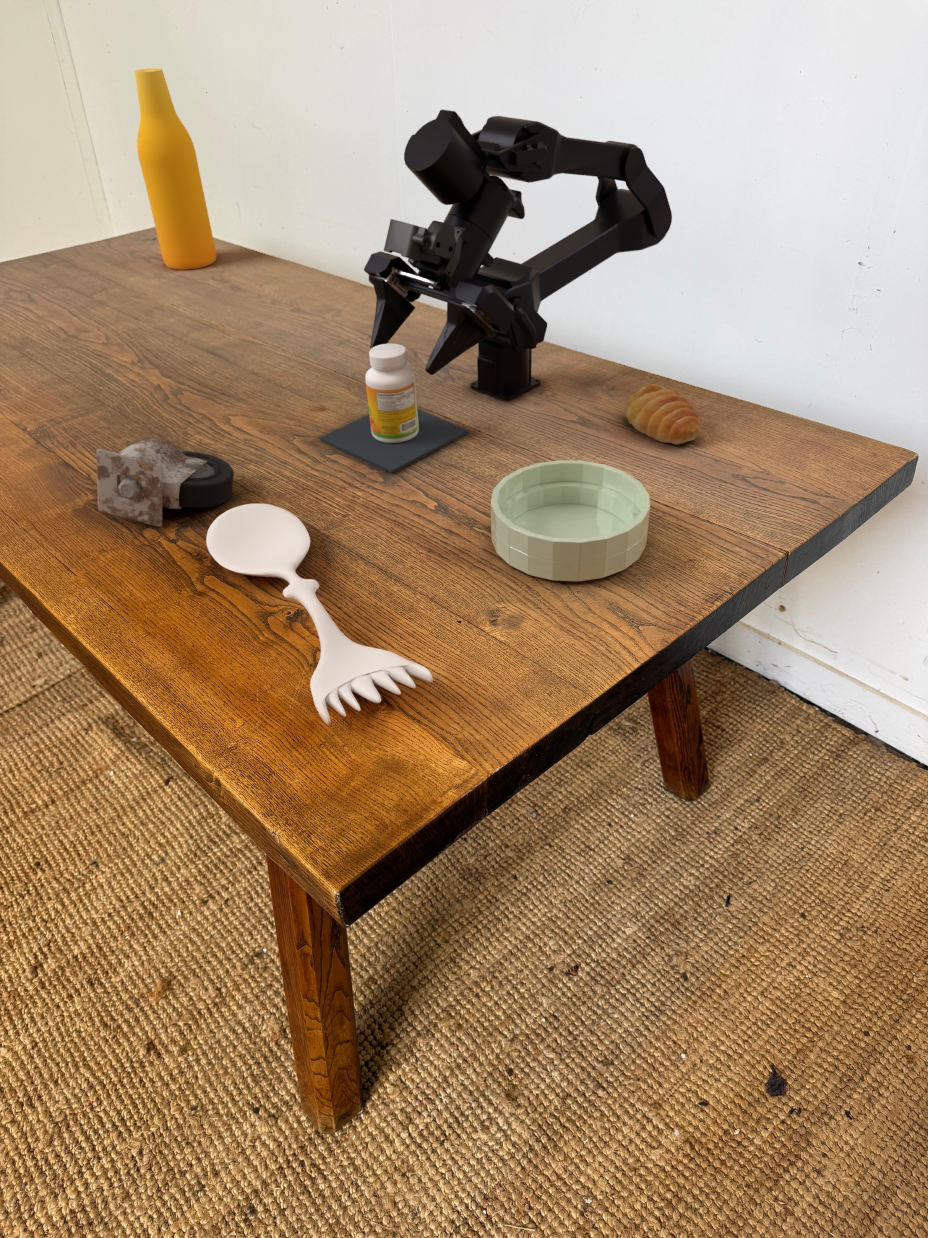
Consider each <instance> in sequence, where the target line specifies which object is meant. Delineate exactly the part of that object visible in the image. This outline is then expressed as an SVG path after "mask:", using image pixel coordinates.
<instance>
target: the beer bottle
mask: <svg viewBox="0 0 928 1238" xmlns="http://www.w3.org/2000/svg"><path fill="white" fill-rule="evenodd" d="M134 76H135V84H136V92H137V98H138V99H137V100H138V105H139V124H138V131H137V139H136V149H137V157H138V161H139V164H140V165H139V166H140V169H141V173H142V178H143V182H144V185H145V189H146V193H147V198H148V202H149V206H150V211H151V214H152V218H153V223H154V227H155V230H156V236H157V239H158V243H159V248H160V254H161V258H162V260H163V263H164V264H165V265H166V267H167V268H169V269H172V270H178V271H188V270H197V269H201V268H205V267H209V266H211V265H212V264H214V263H215V262H216V260H217V249H216V243H215V239H214V236H213V231H212V226H211V222H210V217H209V211H208V207H207V202H206V197H205V192H204V186H203V182H202V177H201V173H200V167H199V163H198V158H197V152H196V148H195V145H194V142H193V139H192V138H191V136H190V133H189V131H188V129H186V126H185V125H184V123H183V122H182V121H181V119H180V117H179V116H178V113H177V112H176V109H175V106H174V103H173V100H172V97H171V94H170V90H169V87H168V84H167V80H166V77H165V74H164V72H163V68H157V67H156V68H155V67H153V68H141V69H136V70H134Z"/></svg>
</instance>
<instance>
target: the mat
mask: <svg viewBox="0 0 928 1238" xmlns="http://www.w3.org/2000/svg"><path fill="white" fill-rule="evenodd" d="M417 412H418V425H419V431H418V433H417V435H416V436H415V437H414V438H412V439H410V440H408V441H404V442H400V443H384V442H381V441H378V440H377V439H375V438H374V437H373V435H372V432H371V425H370V416H369V414H367V415H365V416H363V417H361V418H359V419H357V420H355V421H352V422H350V423H348V424H346V425H344V426H342V427H340V428H337V429H335V430H333V431H331V432H328V433H326V434H324V435H322V436H320V437H319V441H321V442H323V443H325V444H327V445H329V446H331V447H333V448H336V449H338V450H340V451H342V452H344V453H346V454H348V455H351V456H353V457H354V458H357V459H360V460H362V461H363V462H366V463H368V464H370V465H373V466H375V467H376V468H379V469H381V470H383V471H386V472H387V473H390V474H394V473H396V472H398V471H400V470H402V469H403V468H406V467H408V466H410V465H412V464H413V463H416V462H417V461H420V460H421V459H423V458H425V457H426V456H429V455H431V454H432V453H435V452H436V451H439V450H440V449H442V448H444V447H445V446H448V445H450V444H452V443H454V442H455V441H457V440H459V439H461V438H463V437H465V436H467V435H469V434H470V430H469V429H467V428H464V427H462V426H460V425H457V424H454V423H452V422H450V421H447V420H444V419H441V418H439V417H436V416H434V415H431V414H429V413H427V412H424V411H421V410H419V409H417Z"/></svg>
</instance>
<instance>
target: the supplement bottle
mask: <svg viewBox="0 0 928 1238" xmlns="http://www.w3.org/2000/svg"><path fill="white" fill-rule="evenodd" d="M407 353H408V352H407V348H406V347H405V346H404V345H402V344H399V343H387V344H381V345H378V346H375V347H373V348H372V349H371V348H370V349H369V351H368V356H369V366H370V368H369V369H368V370H367V371H366V372H365V377H364V378H365V388H366V398H367V407H368V408H367V409H368V415H369V416H370V425H371V432H372V435H373V437H374V438H375V439H377V440H378V441H381V442H384V443H400V442H404V441H408V440H410V439H412V438H414V437H415V436H416V435H417V433H418V431H419V425H418V412H417V410H418V402H417V389H416V387H417V386H416V377H415V376H416V375H415V372H414V370H413V368H412V367H411V366H410V365H408V364H407V363H408V354H407Z"/></svg>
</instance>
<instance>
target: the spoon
mask: <svg viewBox="0 0 928 1238" xmlns="http://www.w3.org/2000/svg"><path fill="white" fill-rule="evenodd" d="M205 539H206V540H205V541H206V542H205V543H206V547H207V550H208V553H209V554H210V556H211V557H212V558H213V560H214V561H215V562H217V563H218V564H219V565H220V566H221V567H223V568H224V569H226V570H229V571H231V572H234V573H236V574H240V575H244V576H245V575H246V576H252V577H265V578H277V579H281V580H283V581H286V582H287V583H288V585H287V586H286V587H285V588H284V589H283V591H282V595H283V597H284V598H285V599H287V600H294V601H297V602H298V603H300V604H301V605H302V606H303V607H304V608H305V609H306V611H307V612H308V614H309V616H310V618H311V619H312V621H313V623H314V626H315V629H316V632H317V635H318V639H319V642H320V643H319V644H320V655H319V661H318V663H317V666H316V668H315V669H314V671H313V673H312V675H311V677H310V682H309V687H310V692H311V696H312V699H313V704H314V706H315V709H316V711H317V713H318V714H319V716H320V718H321V719H322V721H323V722H324V723H325V724H326V725H328V726H330V725H331V722H332V721H331V716H330V713H329V711H328V708H329V706H330V707H331V708H333V709H334V711H336V712H337V713H338V714H340V715H341V716H342V717H344V718H346V716H347V712H346V710H345V708H344V706H343V704H342V703H341V700H343V701H344V702H345V703H346V704H347V705H349V706H350V707H351V708H352V709H354V710H355V711H357V712H361V710H362V708H361V706H360V703H359V702H358V701H357V699H356V697H355V695H354V694H353V693H355V694H357V695H358V696H359V697H362V698H364V699H366V700H367V701H369V702H370V703H371V702H372V703H374V704H380V703H381V702H382V696H381V695H380V692H379V691H378V690H377V688H376V686H378V687H380V688H382V689H385V690H387V691H388V692H390V693H393V694H395V695H396V696H397V695H398V696H401V694H402V692H401V690H400V688H399V687H398V685H397V684H396V683H395V682H397V683H399V684H402V685H405V686H407V687H409V688H411V689H416V683H415V682H414V680H413V678H412V677H416V678H418V679H421V680H423V681H425V682H428V683H433V682H434V677H433V675H432V673H431V671H430V670H429V668H427V667H426V666H424V665H421V664H419V663H416V662H414V661H411V660H408V659H406V658H405V657H403V656H401V655H399V654H396V653H395V652H393V651H390V650H387V649H380V648H377V647H371V646H367V645H363V644H360V643H357V642H355V641H353V640H352V639H350V638H349V637H347V636H346V634H344V633H343V631H341V630H340V628H339V626H338V625H337V624H336V623H335V621H334V620H333V619H332V618H331V616H330V614H329V613H328V611H327V610H326V609H325V607H324V606H323V604H322V603H321V601H320V600H319V598H318V597H317V594H316V592H317V591H318V589H320V584H319V582H318V581H317V580H316V579H311V578H308V579H307V578H302V577H301V576H299V575H298V574H297V572H296V570H297V569H298V567H299V566H300V565H301V563H302V562H303V560H304V559H305V557H306V555H307V554H308V552H309V549H310V546H311V537H310V534H309V532H308V530H307V528H306V527H305V525H304V523H303V522H302V521H301V520H300V519H299V518H298V517H297V516H296V515H295V514H293V513H292V512H290V511H288V510H287V509H284V508H282V507H279V506H276V505H274V504H269V503H247V504H241V505H238V506H235V507H232V508H230V509H228V510H226V511H224V512H223V513H221V514H220V515H218V516H217V517H216V518H215V519H214V521H212V522H211V524H210V526H209V528H208V530H207V533H206V537H205ZM375 685H376V686H375ZM340 699H341V700H340Z"/></svg>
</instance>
